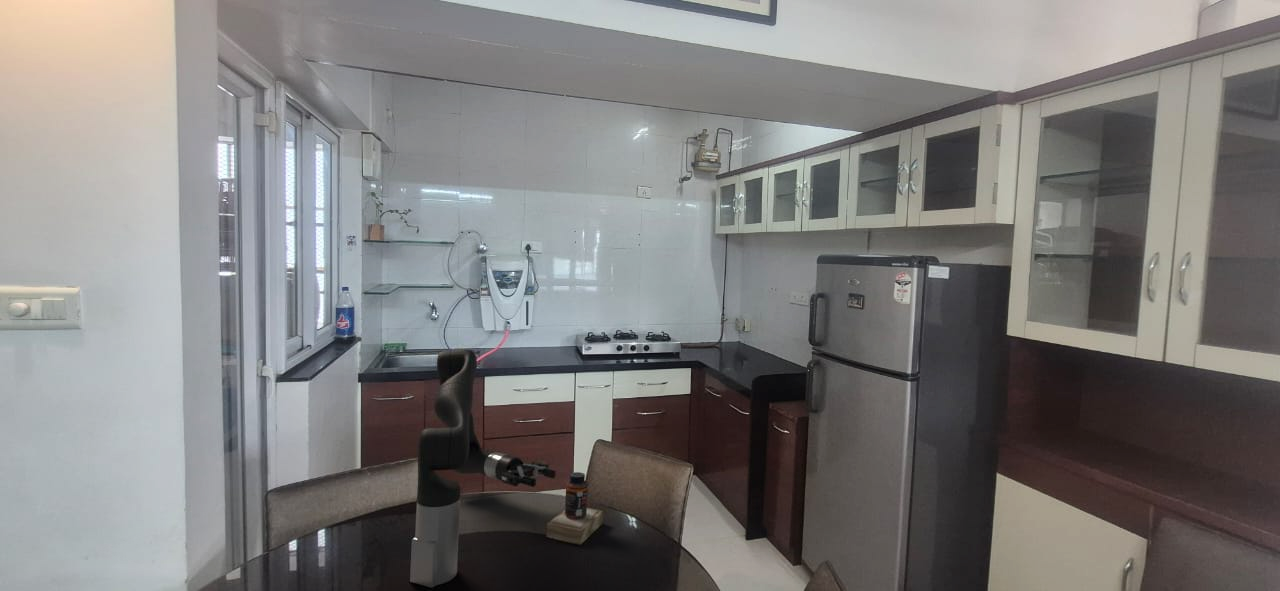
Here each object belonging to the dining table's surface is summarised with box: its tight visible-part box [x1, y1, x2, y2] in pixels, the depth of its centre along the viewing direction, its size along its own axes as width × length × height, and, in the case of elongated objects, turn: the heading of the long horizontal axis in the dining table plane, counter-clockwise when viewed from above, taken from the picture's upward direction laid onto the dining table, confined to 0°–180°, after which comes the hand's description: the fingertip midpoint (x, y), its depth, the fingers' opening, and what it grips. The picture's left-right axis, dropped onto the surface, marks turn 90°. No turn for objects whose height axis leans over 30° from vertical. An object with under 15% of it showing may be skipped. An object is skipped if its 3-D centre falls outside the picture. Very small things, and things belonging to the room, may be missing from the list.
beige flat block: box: [546, 507, 604, 546], centre depth 146 cm, size 14×10×4 cm
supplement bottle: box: [564, 471, 589, 519], centre depth 146 cm, size 6×6×11 cm
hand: (545, 478), depth 151 cm, fingers open, 8 cm apart
